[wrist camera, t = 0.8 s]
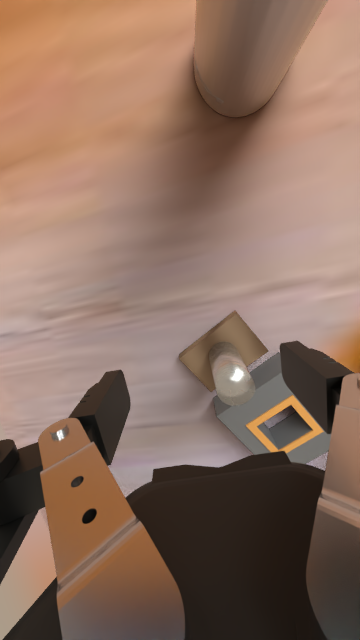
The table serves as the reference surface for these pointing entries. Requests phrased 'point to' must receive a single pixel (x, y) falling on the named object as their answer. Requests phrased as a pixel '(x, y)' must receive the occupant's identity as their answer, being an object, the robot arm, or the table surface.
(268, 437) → the hole block
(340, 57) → the table surface
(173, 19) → the table surface
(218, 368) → the steel peg
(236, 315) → the brown rectangular block
